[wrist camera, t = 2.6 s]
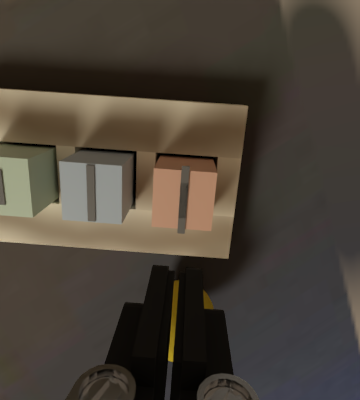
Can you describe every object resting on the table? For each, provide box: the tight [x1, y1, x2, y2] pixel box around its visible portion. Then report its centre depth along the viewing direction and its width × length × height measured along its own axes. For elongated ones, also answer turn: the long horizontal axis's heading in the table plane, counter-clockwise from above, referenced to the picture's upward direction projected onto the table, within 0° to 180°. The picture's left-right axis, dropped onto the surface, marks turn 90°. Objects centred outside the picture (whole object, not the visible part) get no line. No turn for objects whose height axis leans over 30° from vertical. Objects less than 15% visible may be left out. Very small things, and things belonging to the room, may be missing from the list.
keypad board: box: [0, 88, 248, 259], centre depth 25 cm, size 12×20×2 cm, turn 86°
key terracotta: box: [151, 155, 217, 234], centre depth 22 cm, size 5×4×4 cm
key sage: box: [0, 144, 59, 218], centre depth 23 cm, size 4×4×4 cm
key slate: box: [59, 149, 134, 224], centre depth 23 cm, size 4×4×4 cm
